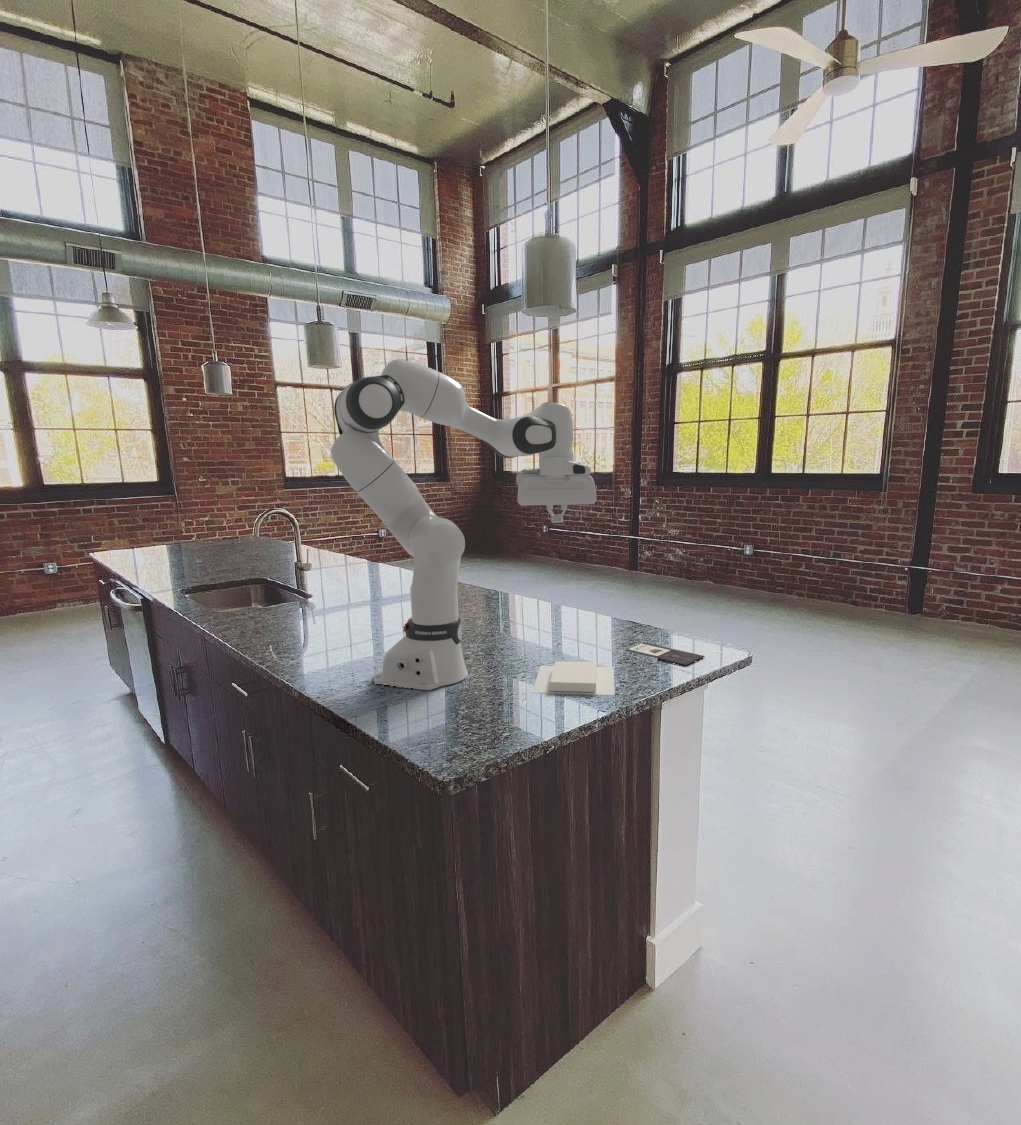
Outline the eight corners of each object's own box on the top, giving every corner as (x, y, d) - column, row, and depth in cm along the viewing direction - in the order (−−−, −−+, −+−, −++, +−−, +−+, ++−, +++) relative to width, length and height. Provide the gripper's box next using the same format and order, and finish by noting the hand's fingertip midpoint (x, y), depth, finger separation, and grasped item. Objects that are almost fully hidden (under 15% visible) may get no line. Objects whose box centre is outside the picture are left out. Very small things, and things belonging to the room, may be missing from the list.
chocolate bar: (686, 664, 146) (625, 650, 159) (686, 668, 146) (625, 653, 159) (704, 656, 152) (644, 642, 165) (704, 659, 152) (644, 645, 165)
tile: (555, 670, 145) (550, 692, 131) (555, 661, 145) (549, 682, 131) (596, 671, 144) (596, 693, 130) (596, 662, 143) (595, 683, 130)
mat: (531, 694, 132) (531, 692, 131) (540, 667, 149) (540, 665, 149) (614, 697, 129) (614, 695, 129) (613, 669, 146) (613, 667, 146)
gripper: (514, 469, 151) (515, 524, 153) (596, 467, 148) (596, 523, 150) (517, 469, 157) (519, 521, 159) (596, 467, 154) (596, 520, 156)
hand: (557, 522), depth 155 cm, fingers closed
